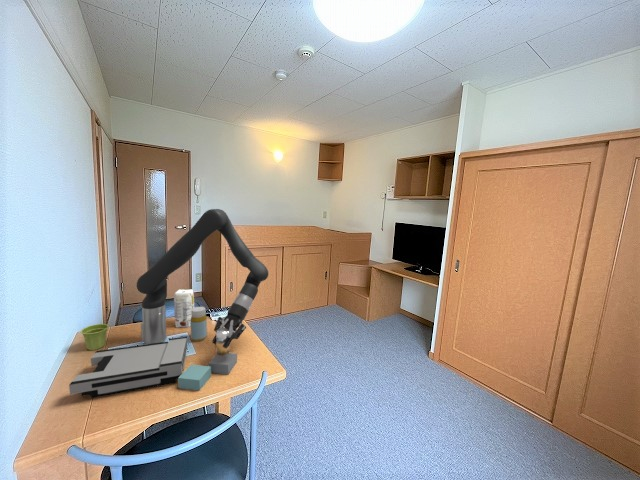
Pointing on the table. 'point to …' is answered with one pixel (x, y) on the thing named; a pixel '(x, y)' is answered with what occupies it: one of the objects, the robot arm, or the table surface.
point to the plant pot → (95, 336)
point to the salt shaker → (221, 341)
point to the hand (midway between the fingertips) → (219, 345)
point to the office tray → (132, 368)
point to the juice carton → (183, 307)
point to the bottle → (198, 324)
